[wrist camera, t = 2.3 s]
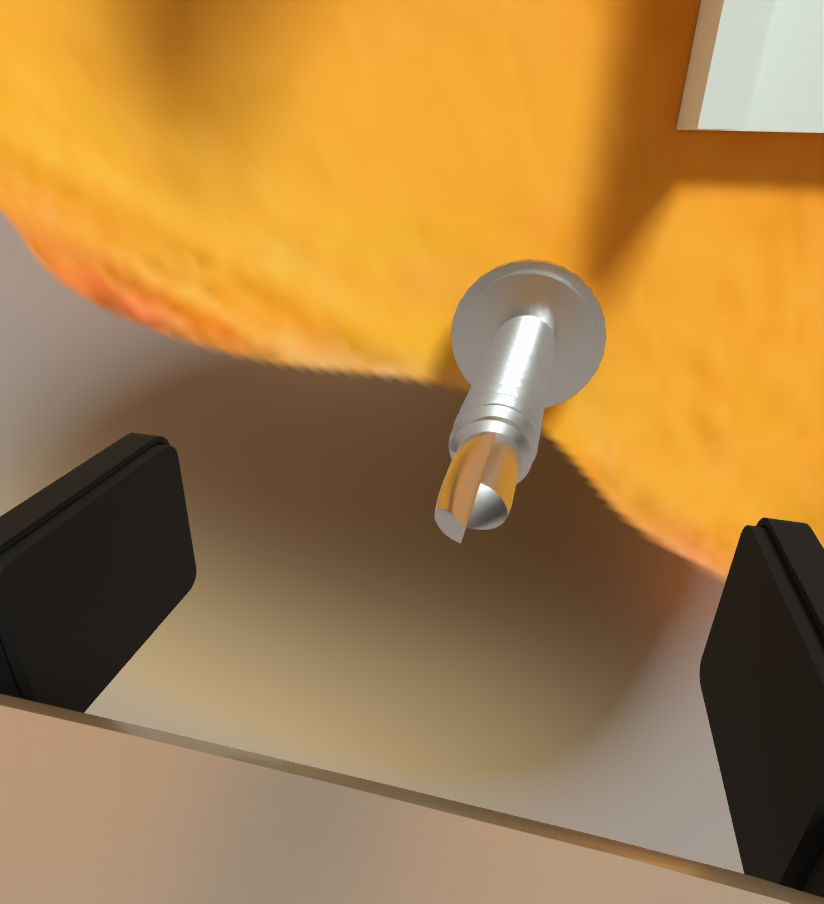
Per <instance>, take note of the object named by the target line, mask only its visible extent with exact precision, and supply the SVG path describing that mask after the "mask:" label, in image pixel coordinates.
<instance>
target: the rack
mask: <svg viewBox="0 0 824 904" xmlns="http://www.w3.org/2000/svg"><path fill="white" fill-rule="evenodd" d="M676 130H710V131H754V132H797V133H824V0H701V4H700V9H699V14H698V19H697V25H696V30H695V35H694V40H693V45H692V50H691V56H690V61H689V66H688V71H687V76H686V81H685V86H684V92H683V97H682V102H681V107H680V112H679V117H678V123H677V128H676Z"/></svg>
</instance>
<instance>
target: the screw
mask: <svg viewBox="0 0 824 904" xmlns="http://www.w3.org/2000/svg"><path fill="white" fill-rule="evenodd" d="M451 340H452V350H453V354H454V357H455V360H456V364H457V366H458V368H459V369H460V371H461V373H462V375H463V377H464V378H465V379H466V381H467V382H468V383H469V384H470V385H471V387H470V390H469V392H468V394H467V396H466V398H465V401H464V403H463V404H462V407H461V409H460V411H459V414H458V415H457V417H456V419H455V422H454V426H453V429H452V431H451V434H450V438H449V447H448V449H449V452H450V456H451V459H452V462H451V464H450V467H449V469H448V471H447V473H446V476H445V478H444V481H443V484H442V486H441V489H440V492H439V496H438V500H437V504H436V509H435V521H436V522H437V524H438V526H439V528H440V529H441V530H442V531H443V532H444V534H445V535H447V536H448V537H450V538H451V539H452V540H454V541H457V542H459V543H461V541H462V538H463V535H464V532H465V529H466V528H470V529H492V528H495V527H497V526H499V525H501V524H502V523H503V522H504V521H505V519H506V518H507V516H508V514H509V512H510V509H511V505H512V501H513V496H514V492H515V487H516V484H517V483H519V482H520V481H521V480H522V479H523V478H524V477H525V476H526V475H527V473H528V472H529V470H530V467H531V464H532V462H533V461H534V459H535V457H536V454H537V450H538V442H539V439H540V431H541V427H542V420H543V415H544V409H545V408H549V407H552V406H554V405H557V404H560V403H563V402H564V401H566V400H567V399H569V398H571V397H572V396H574V395H576V394H577V393H578V392H579V391H580V390H581V389H582V388H583V387H584V386H585V385H586V384H588V382H589V381H590V380H591V378H592V377H593V375H594V374H595V372H596V371H597V369H598V367H599V364H600V362H601V359H602V357H603V354H604V348H605V341H606V331H605V318H604V315H603V312H602V309H601V306H600V303H599V301H598V299H597V298H596V296H595V295H594V293H593V291H592V290H591V288H590V287H589V286H588V285H587V284H586V283H585V282H584V281H583V280H582V279H581V278H580V277H579V276H578V275H576V274H575V273H573V272H571V271H570V270H568V269H567V268H565V267H563V266H560V265H557V264H554V263H551V262H548V261H542V260H533V259H527V260H518V261H512V262H509V263H506V264H503V265H500V266H497V267H495V268H493V269H492V270H490V271H489V272H487V273H485V274H484V275H482V276H481V277H480V278H479V279H478V280H477V281H476V282H475V283H474V284H473V285H472V286H471V287H470V288H469V289H468V290H467V292H466V293H465V295H464V296H463V298H462V299H461V301H460V302H459V305H458V307H457V310H456V312H455V315H454V318H453V324H452V331H451Z"/></svg>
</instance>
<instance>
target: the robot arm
mask: <svg viewBox="0 0 824 904" xmlns="http://www.w3.org/2000/svg"><path fill="white" fill-rule="evenodd" d="M195 578H196V564H195V558H194V552H193V546H192V539H191V533H190V527H189V521H188V515H187V509H186V502H185V496H184V490H183V484H182V477H181V472H180V465H179V459H178V455H177V451H176V449H175V448H174V447H172V446H170V444H169V442H168V440H167V439H166V438H164V437H161V436H153V435H146V434H138V433H130V434H128V435H126V436H125V437H123V438H121V439H120V440H118V441H117V442H115V443H113V444H112V445H111V446H109V447H107V448H106V449H104V450H103V451H101V452H100V453H98V454H96V455H95V456H93V457H92V458H90V459H89V460H87V461H86V462H84V463H83V464H81V465H80V466H78V467H76V468H75V469H73V470H72V471H70V472H69V473H67V474H66V475H64V476H63V477H61V478H59V479H58V480H56V481H55V482H53V483H52V484H50V485H49V486H47V487H45V488H44V489H42V490H41V491H39V492H38V493H36V494H35V495H33V496H32V497H30V498H28V499H27V500H25V501H24V502H22V503H21V504H19V505H18V506H16V507H15V508H13V509H12V510H10V511H8V512H7V513H5V514H4V515H2V516H1V517H0V904H824V549H823V547H822V545H821V544H820V542H819V540H818V539H817V537H816V536H815V534H814V532H813V531H812V529H811V527H810V526H809V525H808V524H806V523H800V522H792V521H785V520H777V519H770V518H762V519H760V521H759V522H758V523H757V525H756V526H750V525H747V526H745V527H744V529H743V531H742V533H741V536H740V539H739V542H738V545H737V548H736V551H735V555H734V558H733V561H732V564H731V567H730V570H729V574H728V577H727V580H726V583H725V586H724V589H723V593H722V596H721V599H720V602H719V605H718V608H717V612H716V615H715V618H714V621H713V624H712V627H711V631H710V634H709V637H708V640H707V643H706V646H705V649H704V653H703V656H702V659H701V664H700V684H701V689H702V693H703V698H704V702H705V706H706V711H707V715H708V719H709V723H710V728H711V732H712V736H713V740H714V745H715V749H716V754H717V758H718V762H719V767H720V771H721V775H722V779H723V784H724V788H725V792H726V797H727V801H728V805H729V810H730V814H731V818H732V823H733V827H734V831H735V836H736V840H737V844H738V848H739V853H740V857H741V861H742V865H743V870H744V874H742V873H738V872H734V871H730V870H727V869H722V868H719V867H715V866H711V865H708V864H703V863H700V862H696V861H692V860H688V859H684V858H681V857H676V856H673V855H669V854H665V853H661V852H658V851H654V850H650V849H646V848H642V847H638V846H634V845H630V844H626V843H623V842H619V841H615V840H611V839H608V838H604V837H600V836H596V835H591V834H588V833H583V832H580V831H575V830H571V829H567V828H563V827H559V826H555V825H551V824H546V823H543V822H539V821H534V820H530V819H526V818H522V817H518V816H514V815H510V814H506V813H501V812H497V811H493V810H489V809H485V808H481V807H477V806H473V805H468V804H464V803H460V802H456V801H452V800H448V799H444V798H440V797H436V796H432V795H428V794H424V793H419V792H415V791H411V790H407V789H403V788H399V787H395V786H391V785H386V784H382V783H378V782H374V781H370V780H366V779H361V778H357V777H353V776H349V775H345V774H340V773H336V772H332V771H328V770H324V769H319V768H315V767H311V766H306V765H303V764H298V763H294V762H290V761H286V760H282V759H278V758H273V757H269V756H265V755H261V754H257V753H252V752H248V751H244V750H240V749H235V748H231V747H227V746H223V745H218V744H214V743H209V742H206V741H201V740H197V739H193V738H189V737H185V736H180V735H176V734H172V733H168V732H163V731H159V730H155V729H150V728H146V727H142V726H138V725H133V724H129V723H125V722H120V721H116V720H112V719H107V718H103V717H99V716H94V715H90V714H86V713H84V712H85V711H86V709H87V708H88V707H89V706H90V705H91V704H92V703H93V701H94V700H95V699H96V698H97V697H98V696H99V694H100V693H101V692H102V691H103V690H104V689H105V687H106V686H107V685H108V684H109V683H110V682H111V680H113V678H114V677H115V676H116V675H117V674H118V673H119V671H120V670H121V669H122V668H123V667H124V666H125V664H126V663H127V662H128V661H129V660H130V659H131V657H132V656H133V655H134V654H135V653H136V652H137V651H138V649H139V648H140V647H141V646H142V645H143V644H144V643H145V641H146V640H147V639H148V638H149V637H150V636H151V634H152V633H153V632H154V631H155V630H156V629H157V627H158V626H159V625H160V624H161V623H162V622H163V621H164V619H165V618H166V617H167V616H168V615H169V614H170V612H171V611H172V610H173V609H174V608H175V607H176V605H177V604H178V603H179V602H180V601H181V600H182V599H183V597H184V596H185V595H186V594H187V593H188V592H189V590H190V589H191V588H192V586H193V583H194V581H195Z"/></svg>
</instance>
